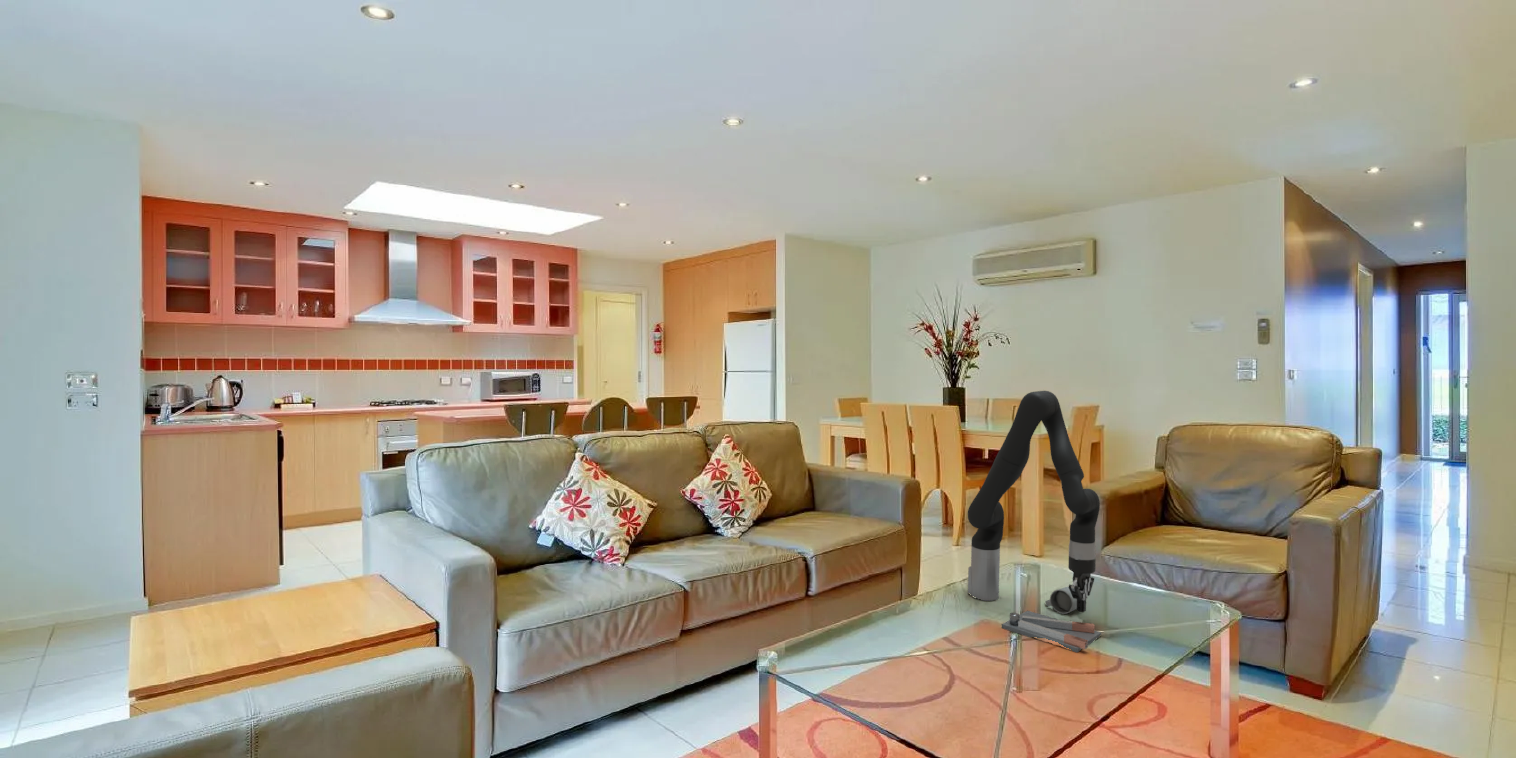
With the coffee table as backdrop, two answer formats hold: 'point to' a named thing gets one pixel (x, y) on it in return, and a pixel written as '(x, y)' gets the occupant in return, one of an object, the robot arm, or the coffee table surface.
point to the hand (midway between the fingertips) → (1081, 611)
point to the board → (1083, 635)
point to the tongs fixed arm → (1048, 632)
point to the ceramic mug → (1062, 601)
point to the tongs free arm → (1060, 624)
